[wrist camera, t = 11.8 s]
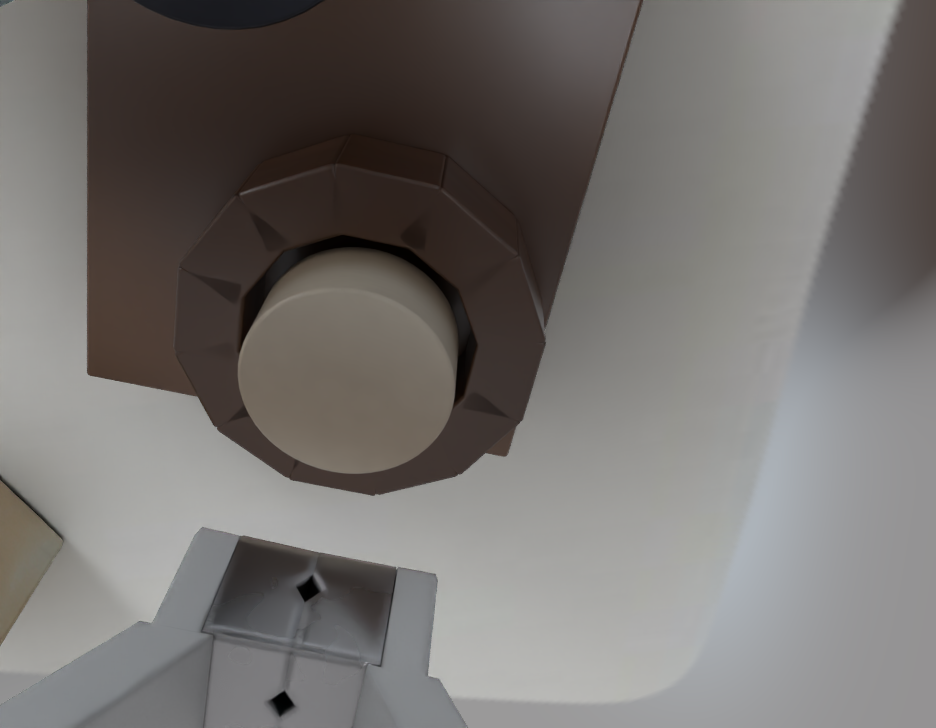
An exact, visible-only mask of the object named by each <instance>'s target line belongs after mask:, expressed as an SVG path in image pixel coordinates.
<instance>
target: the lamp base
mask: <svg viewBox="0 0 936 728" xmlns="http://www.w3.org/2000/svg"><path fill="white" fill-rule="evenodd" d="M643 1H644V0H324V1H323V2H321V3H320V4H318V5H316V6H315V7H313V8H312V9H310V10H308V11H307V12H305V13H303V14H300V15H298V16H296V17H293V18H291V19H289V20H286V21H284V22H280V23H277V24H273V25H269V26H265V27H261V28H252V29H243V30H221V29H211V28H205V27H199V26H193V25H189V24H186V23H183V22H179V21H176V20H173V19H169V18H167V17H165V16H162V15H160V14H158V13H156V12H153V11H151V10H149V9H147V8H145V7H143V6H141V5H140V4H138V3H136V2H135V1H133V0H87V373H88V375H90V376H95V377H100V378H105V379H110V380H115V381H120V382H126V383H131V384H136V385H141V386H146V387H151V388H156V389H161V390H166V391H171V392H177V393H182V394H187V395H192V396H197V397H198V398H199V400H200V401H201V403H202V405H203V407H204V409H205V411H206V412H207V414H208V416H209V418H210V420H211V421H212V423H213V425H214V426H215V427H217V429H218V431H219V432H221V433H222V434H224V435H225V436H227V437H228V438H230V439H231V440H232V441H234V442H235V443H237V444H238V445H240V446H241V447H243V448H244V449H246V450H247V451H248V452H250V453H251V454H253V455H254V456H256V457H257V458H259V459H260V460H262V461H263V462H264V463H266V464H267V465H269V466H270V467H272V468H273V469H275V470H276V471H278V472H279V473H280V474H282V475H283V476H285V477H287V478H290V480H293V481H298V482H304V483H309V484H314V485H319V486H325V487H330V488H335V489H341V490H346V491H351V492H356V493H362V494H367V495H372V496H374V495H376V494H378V495H380V494H385V493H389V492H393V491H397V490H401V489H405V488H410V487H414V486H418V485H422V484H426V483H431V482H435V481H439V480H443V479H447V478H452V477H455V476H457V475H458V474H459V475H460V474H462V473H463V472H464V471H465V470H467V469H468V468H469V467H470V466H471V465H472V464H473V463H475V462H476V461H477V460H478V459H479V458H480V457H482V456H483V455H484V454H485V453H488V454H493V455H498V456H503V457H505V456H507V455H508V453H509V449H510V446H511V443H512V439H513V436H514V433H515V429H516V426H517V425H518V424H519V423H520V421H522V420H523V418H524V414H525V411H526V408H527V404H528V401H529V398H530V394H531V391H532V388H533V384H534V381H535V378H536V375H537V371H538V368H539V365H540V361H541V358H542V355H543V351H544V348H545V345H546V343H545V340H546V337H545V329H546V325H547V322H548V319H549V315H550V312H551V309H552V305H553V302H554V299H555V295H556V292H557V289H558V285H559V282H560V279H561V275H562V272H563V269H564V265H565V262H566V258H567V255H568V252H569V248H570V245H571V242H572V238H573V235H574V232H575V228H576V225H577V222H578V218H579V215H580V212H581V208H582V205H583V202H584V198H585V195H586V191H587V188H588V185H589V181H590V178H591V175H592V171H593V168H594V165H595V161H596V158H597V155H598V151H599V148H600V145H601V141H602V138H603V135H604V131H605V128H606V124H607V121H608V118H609V114H610V111H611V108H612V104H613V101H614V98H615V94H616V91H617V88H618V84H619V81H620V78H621V74H622V71H623V68H624V64H625V61H626V57H627V54H628V51H629V47H630V44H631V41H632V37H633V34H634V31H635V27H636V24H637V21H638V17H639V14H640V11H641V7H642V4H643ZM343 247H363V248H370V249H376V250H380V251H383V252H387V253H390V254H393V255H395V256H397V257H400V258H402V259H404V260H406V261H407V262H409V263H411V264H413V265H414V266H416V267H417V268H418V269H420V270H421V271H423V272H424V273H425V274H426V275H427V276H428V277H429V278H430V279H432V280H433V281H434V282H435V284H436V285H437V286H438V287H439V289H440V290H441V291H442V292H443V294H444V295H445V297H446V299H447V300H448V302H449V304H450V306H451V308H452V311H453V313H454V316H455V319H456V323H457V328H458V335H459V349H458V362H457V375H456V388H455V397H454V403H453V408H452V411H451V414H450V417H449V419H448V421H447V423H446V425H445V427H444V429H443V430H442V432H441V433H440V434H439V436H438V437H437V438H436V439H435V441H434V442H433V443H432V444H431V445H430V446H429V447H428V448H427V449H425V450H424V451H423V452H421V453H420V454H419V455H418V456H416V457H414V458H413V459H411V460H409V461H408V462H405V463H403V464H401V465H399V466H396V467H393V468H390V469H387V470H384V471H378V472H373V473H362V474H348V473H338V472H331V471H327V470H323V469H319V468H316V467H313V466H310V465H307V464H305V463H303V462H301V461H299V460H297V459H295V458H293V457H291V456H289V455H288V454H286V453H285V452H283V451H282V450H280V449H279V448H278V447H276V446H275V445H274V444H273V443H271V442H270V441H269V440H268V439H267V438H266V437H265V436H264V435H263V434H262V432H261V431H260V430H259V429H258V427H257V426H256V425H255V423H254V422H253V420H252V419H251V417H250V415H249V414H248V412H247V409H246V407H245V405H244V402H243V400H242V396H241V393H240V389H239V382H238V361H239V355H240V351H241V348H242V345H243V342H244V340H245V338H246V336H247V334H248V332H249V330H250V328H251V326H252V324H253V322H254V320H255V319H256V317H257V315H258V313H259V311H260V309H261V307H262V305H263V303H264V301H265V300H266V298H267V296H268V294H269V292H270V290H271V288H272V287H273V285H274V284H275V283H276V281H277V280H278V279H279V277H280V276H281V275H283V274H284V273H285V272H286V271H287V270H288V269H289V268H290V267H292V266H293V265H294V264H296V263H297V262H299V261H300V260H302V259H304V258H306V257H308V256H310V255H313V254H315V253H318V252H321V251H325V250H329V249H334V248H343Z"/></svg>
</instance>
